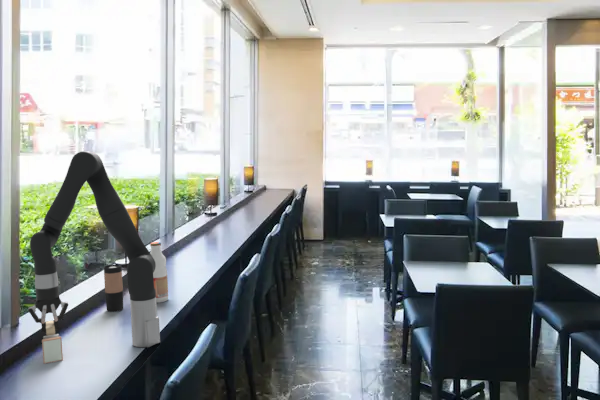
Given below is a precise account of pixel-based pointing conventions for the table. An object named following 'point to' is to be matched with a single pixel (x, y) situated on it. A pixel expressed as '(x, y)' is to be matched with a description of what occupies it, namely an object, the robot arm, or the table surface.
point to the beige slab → (50, 330)
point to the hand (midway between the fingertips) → (50, 331)
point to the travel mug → (113, 288)
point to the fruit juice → (159, 273)
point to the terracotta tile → (52, 349)
